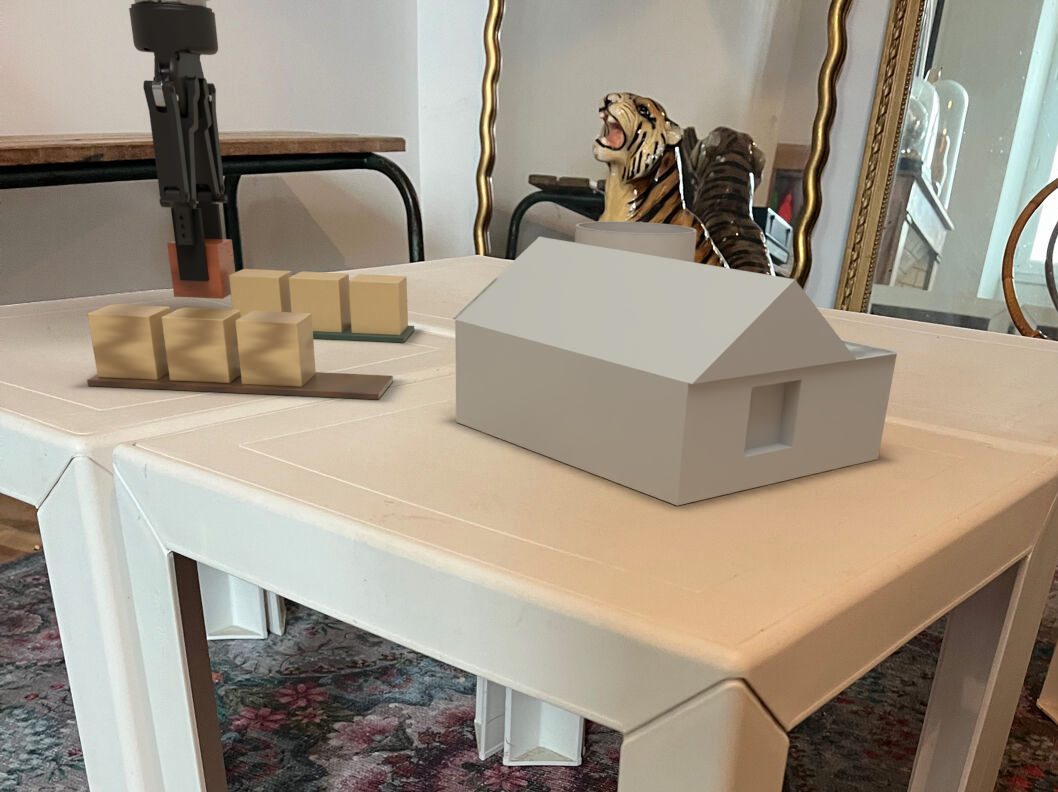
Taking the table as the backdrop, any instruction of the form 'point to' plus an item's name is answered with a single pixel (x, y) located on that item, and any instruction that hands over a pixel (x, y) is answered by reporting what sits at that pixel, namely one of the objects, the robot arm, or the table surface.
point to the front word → (216, 353)
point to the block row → (329, 302)
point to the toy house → (666, 372)
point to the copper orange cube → (218, 270)
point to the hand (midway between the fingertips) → (203, 275)
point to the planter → (640, 238)
